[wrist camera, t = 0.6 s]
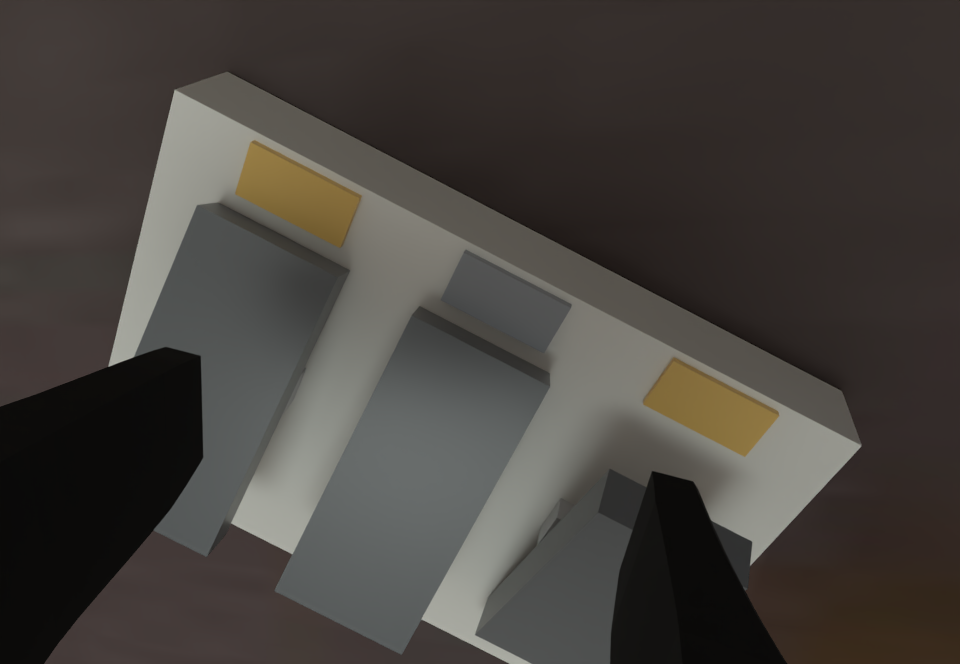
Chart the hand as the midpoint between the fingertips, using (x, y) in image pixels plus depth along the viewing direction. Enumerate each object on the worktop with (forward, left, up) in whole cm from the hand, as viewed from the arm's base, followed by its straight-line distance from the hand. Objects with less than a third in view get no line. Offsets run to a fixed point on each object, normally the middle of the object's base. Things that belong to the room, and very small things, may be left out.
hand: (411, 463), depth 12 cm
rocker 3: (-6, +6, -6) cm, 10 cm away
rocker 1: (+5, +6, -6) cm, 10 cm away
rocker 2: (0, +6, -6) cm, 8 cm away
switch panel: (0, +6, -10) cm, 11 cm away
